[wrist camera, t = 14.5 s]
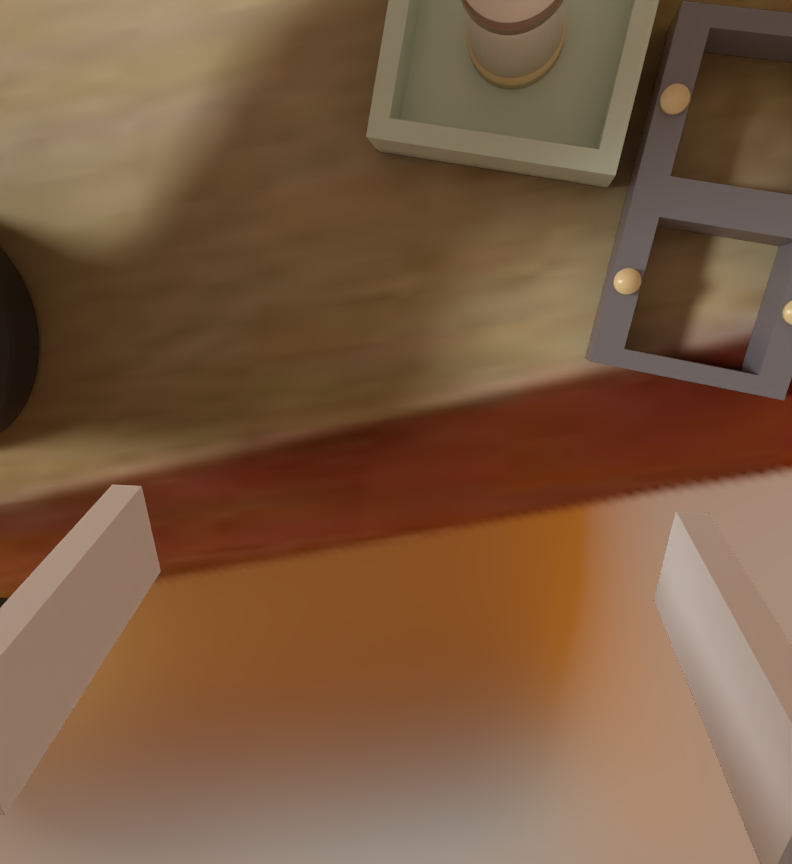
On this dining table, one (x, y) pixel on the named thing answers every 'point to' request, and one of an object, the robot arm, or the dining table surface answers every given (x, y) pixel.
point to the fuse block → (700, 207)
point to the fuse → (514, 39)
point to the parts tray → (510, 93)
